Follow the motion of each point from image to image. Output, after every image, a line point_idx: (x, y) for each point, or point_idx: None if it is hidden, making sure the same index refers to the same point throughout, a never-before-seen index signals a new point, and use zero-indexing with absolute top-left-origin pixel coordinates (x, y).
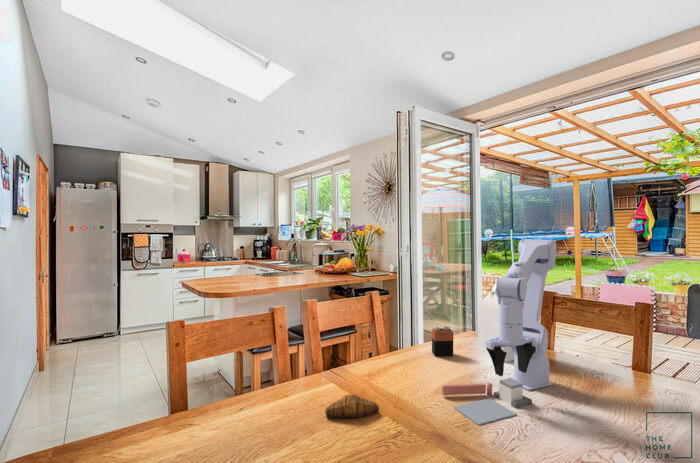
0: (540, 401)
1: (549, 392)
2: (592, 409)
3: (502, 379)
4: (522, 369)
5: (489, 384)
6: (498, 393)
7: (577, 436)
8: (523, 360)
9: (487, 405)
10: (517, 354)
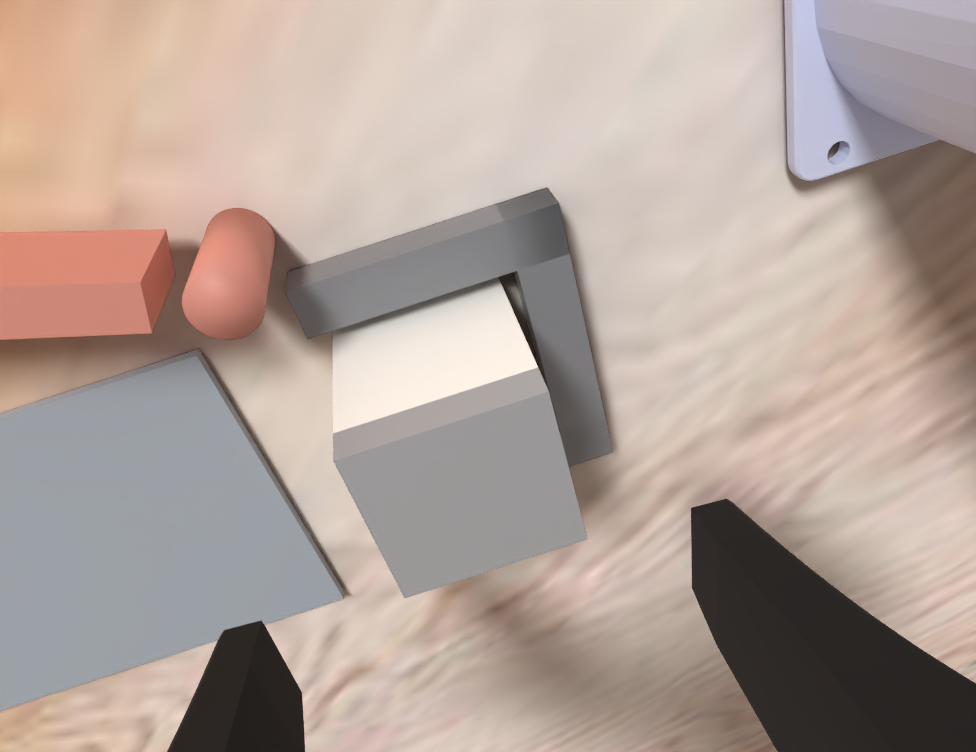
0: (709, 392)
1: (961, 221)
2: (966, 499)
3: (391, 440)
4: (708, 597)
5: (217, 323)
6: (333, 323)
7: (578, 735)
8: (797, 743)
9: (121, 490)
10: (856, 715)
